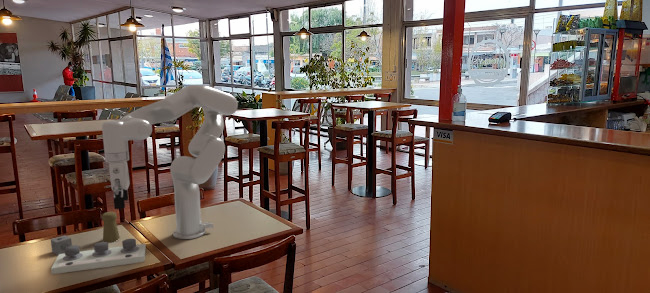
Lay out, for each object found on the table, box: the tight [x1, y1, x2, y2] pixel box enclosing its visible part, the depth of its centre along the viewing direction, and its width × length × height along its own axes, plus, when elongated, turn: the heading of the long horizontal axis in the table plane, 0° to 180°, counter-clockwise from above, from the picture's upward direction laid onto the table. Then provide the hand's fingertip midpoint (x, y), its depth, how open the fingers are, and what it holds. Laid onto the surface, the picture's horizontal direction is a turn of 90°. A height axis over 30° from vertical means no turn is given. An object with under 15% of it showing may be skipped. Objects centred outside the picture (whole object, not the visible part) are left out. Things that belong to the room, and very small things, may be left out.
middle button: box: [93, 241, 109, 252], centre depth 156 cm, size 4×4×2 cm
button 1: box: [65, 244, 81, 256], centre depth 153 cm, size 4×4×2 cm
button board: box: [50, 243, 147, 275], centre depth 155 cm, size 28×12×2 cm, turn 109°
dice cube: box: [50, 234, 73, 257], centre depth 163 cm, size 5×5×5 cm
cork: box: [101, 211, 121, 243], centre depth 173 cm, size 6×6×11 cm
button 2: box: [121, 238, 137, 249], centre depth 159 cm, size 4×4×2 cm
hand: (121, 204), depth 157 cm, fingers open, 9 cm apart
